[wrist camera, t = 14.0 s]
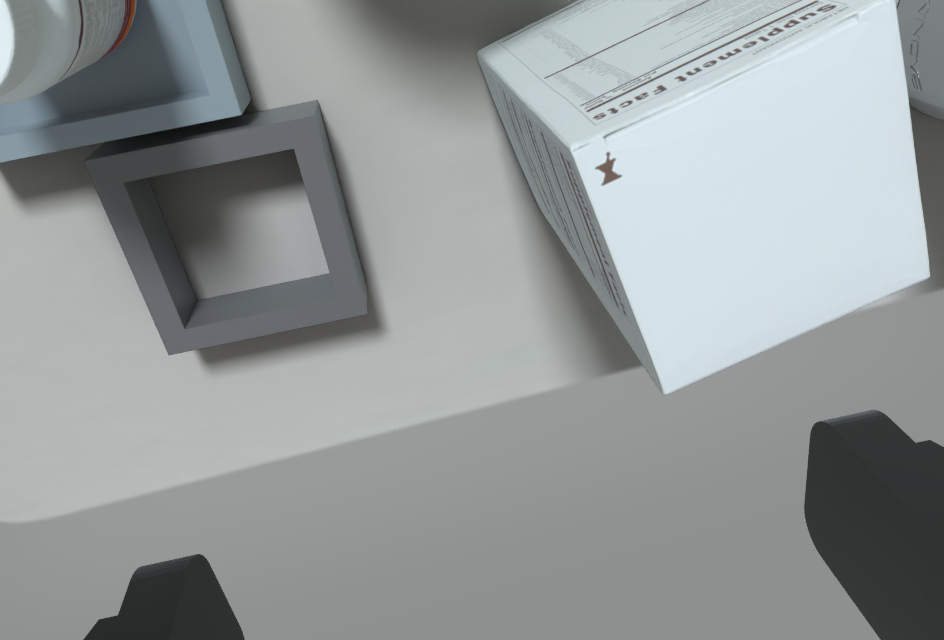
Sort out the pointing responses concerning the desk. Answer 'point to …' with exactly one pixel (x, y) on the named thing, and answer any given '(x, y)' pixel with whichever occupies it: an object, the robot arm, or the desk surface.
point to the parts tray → (136, 84)
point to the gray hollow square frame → (155, 256)
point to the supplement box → (719, 165)
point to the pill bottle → (55, 40)
